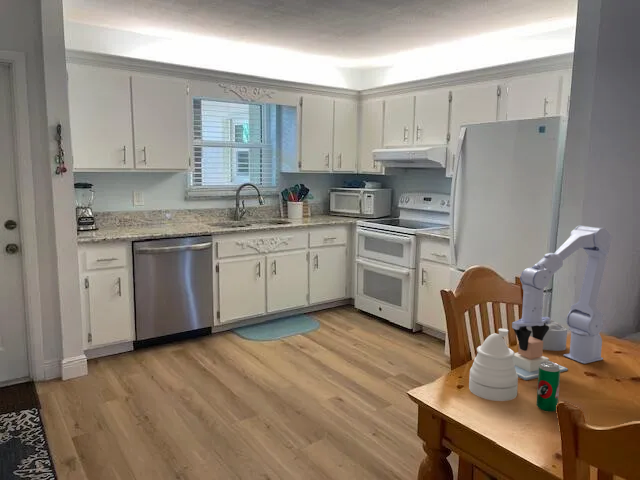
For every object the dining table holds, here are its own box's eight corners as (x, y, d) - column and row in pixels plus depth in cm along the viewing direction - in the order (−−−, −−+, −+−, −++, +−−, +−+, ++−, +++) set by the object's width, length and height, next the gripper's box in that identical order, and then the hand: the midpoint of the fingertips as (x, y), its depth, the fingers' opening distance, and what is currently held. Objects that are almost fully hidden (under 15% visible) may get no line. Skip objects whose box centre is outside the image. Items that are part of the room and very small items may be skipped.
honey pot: (515, 384, 142) (519, 324, 140) (518, 404, 130) (522, 339, 128) (469, 378, 146) (472, 320, 144) (468, 396, 134) (470, 333, 132)
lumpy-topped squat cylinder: (532, 337, 183) (534, 315, 182) (569, 345, 175) (571, 322, 174) (522, 344, 176) (523, 321, 175) (560, 353, 167) (562, 329, 166)
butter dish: (531, 355, 165) (531, 345, 165) (567, 370, 153) (568, 359, 152) (491, 363, 158) (491, 353, 157) (525, 380, 145) (526, 368, 145)
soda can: (559, 413, 125) (563, 369, 123) (538, 411, 126) (541, 367, 124) (554, 404, 130) (557, 361, 128) (534, 402, 131) (537, 360, 129)
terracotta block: (529, 351, 158) (530, 336, 157) (542, 356, 153) (543, 341, 152) (517, 353, 156) (518, 338, 155) (530, 359, 151) (531, 343, 150)
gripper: (525, 312, 146) (523, 356, 148) (559, 307, 152) (556, 348, 154) (507, 306, 152) (505, 348, 154) (541, 301, 158) (538, 342, 160)
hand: (529, 348), depth 154 cm, fingers open, 5 cm apart
